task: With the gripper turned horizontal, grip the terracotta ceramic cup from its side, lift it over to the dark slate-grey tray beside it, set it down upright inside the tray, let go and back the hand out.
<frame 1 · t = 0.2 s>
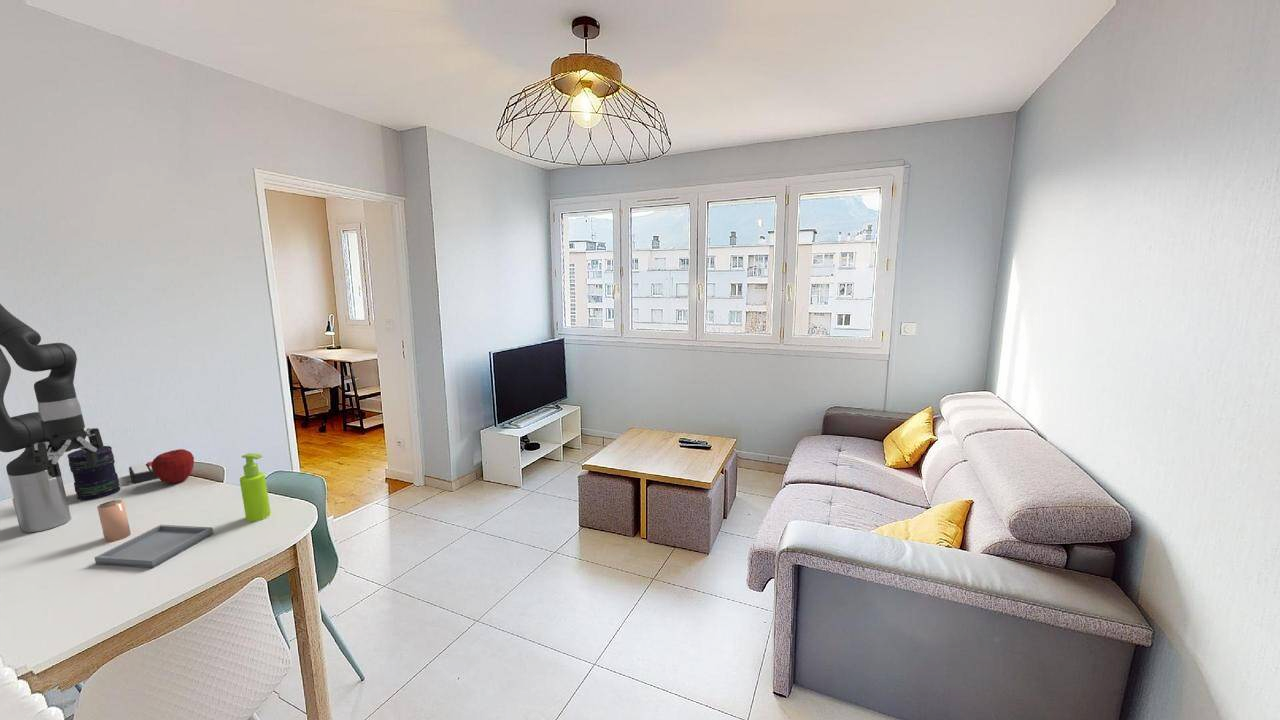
hand: (74, 470, 138), 17 cm above the table, tool pointing down, fingers open, 8 cm apart
cup: (118, 537, 136), on the table
soap dispenser: (260, 517, 147), on the table
storage jar: (99, 494, 162), on the table
tray: (158, 548, 131), on the table
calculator: (161, 474, 178), on the table
apple: (177, 481, 171), on the table
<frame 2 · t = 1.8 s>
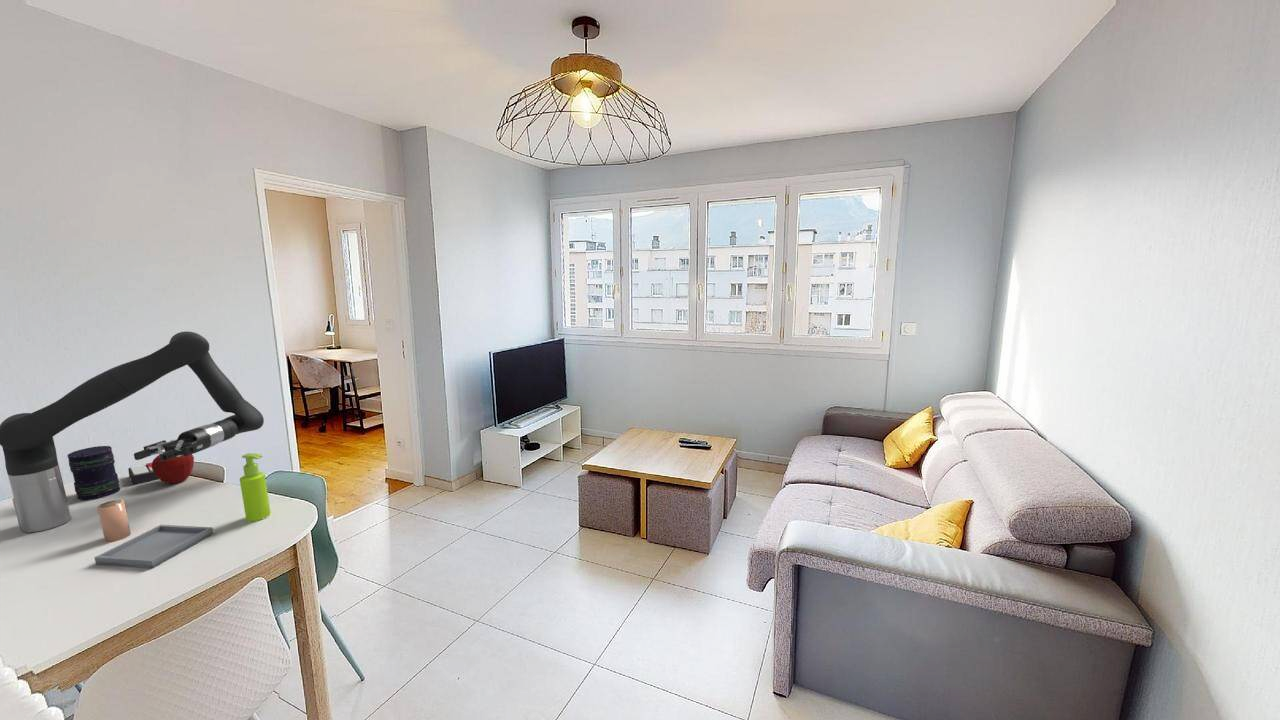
hand: (148, 457, 143), 19 cm above the table, tool horizontal, fingers open, 8 cm apart
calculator: (161, 475, 177), on the table
everything else where it was.
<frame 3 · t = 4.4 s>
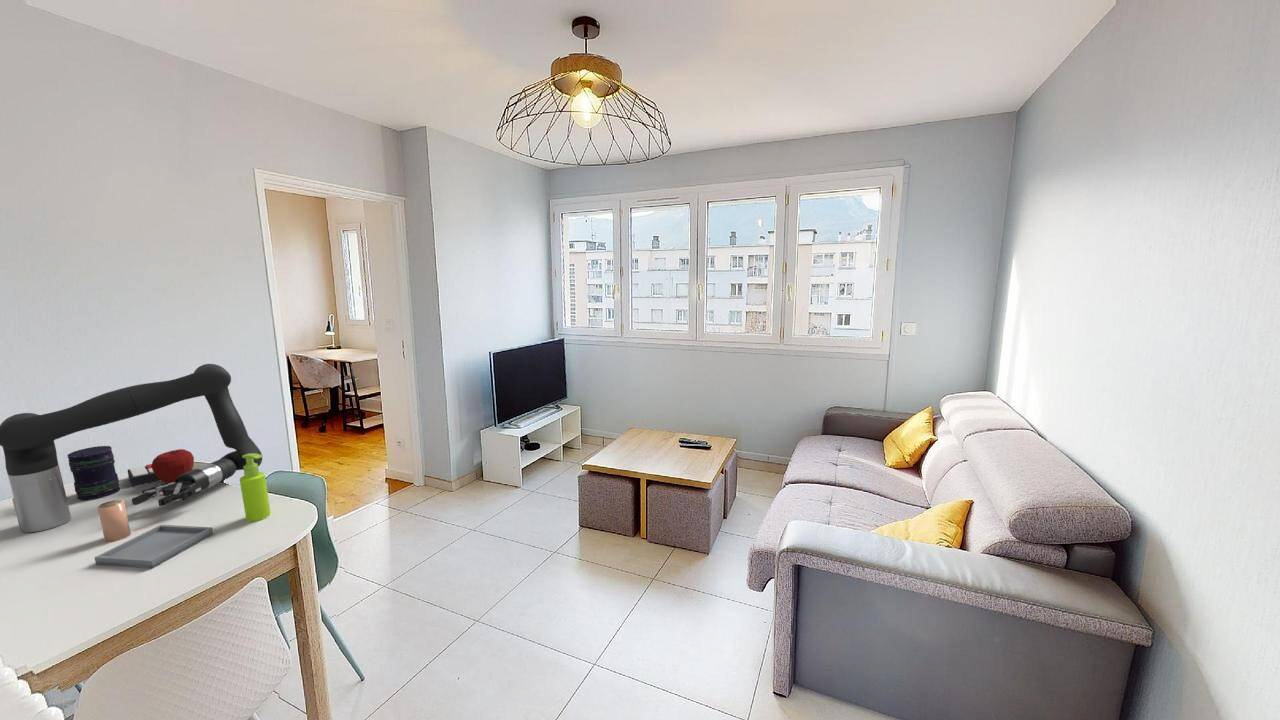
hand: (146, 502, 143), 6 cm above the table, tool horizontal, fingers open, 8 cm apart
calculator: (160, 477, 176), on the table
everything else where it was.
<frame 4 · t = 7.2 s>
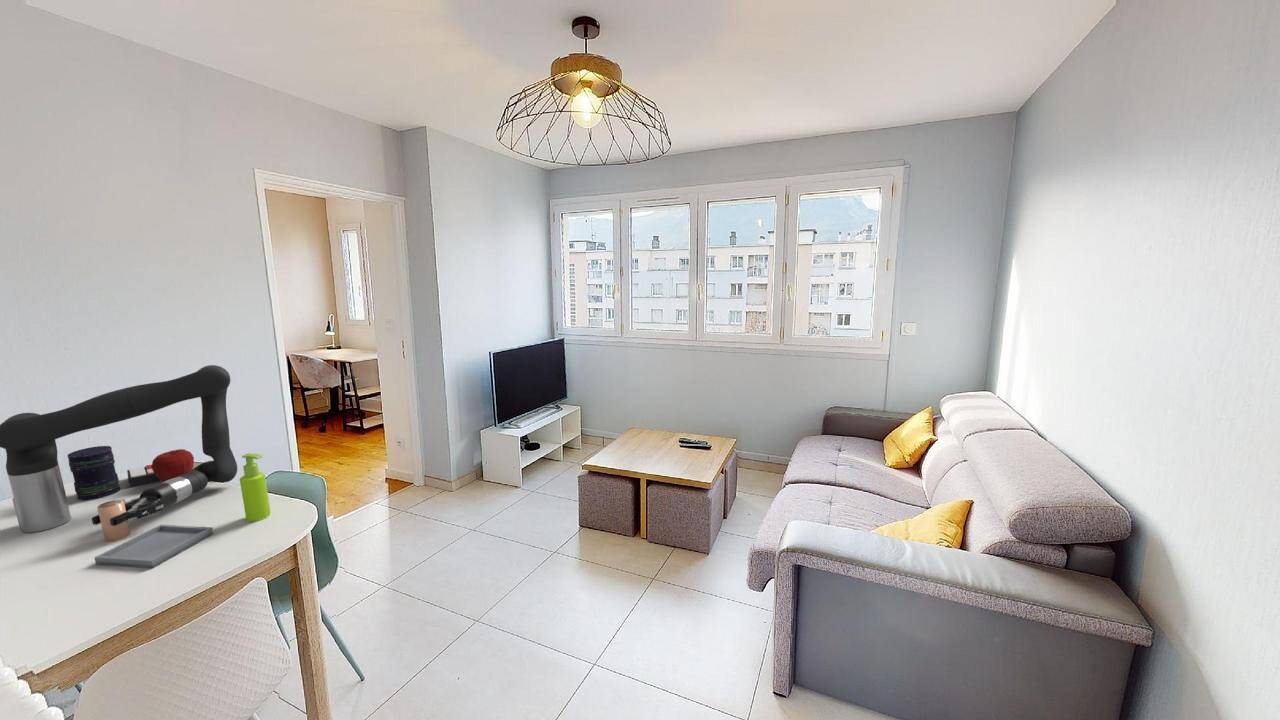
hand: (102, 522, 132), 6 cm above the table, tool horizontal, fingers closed on cup, 5 cm apart
cup: (118, 537, 136), on the table, touching gripper
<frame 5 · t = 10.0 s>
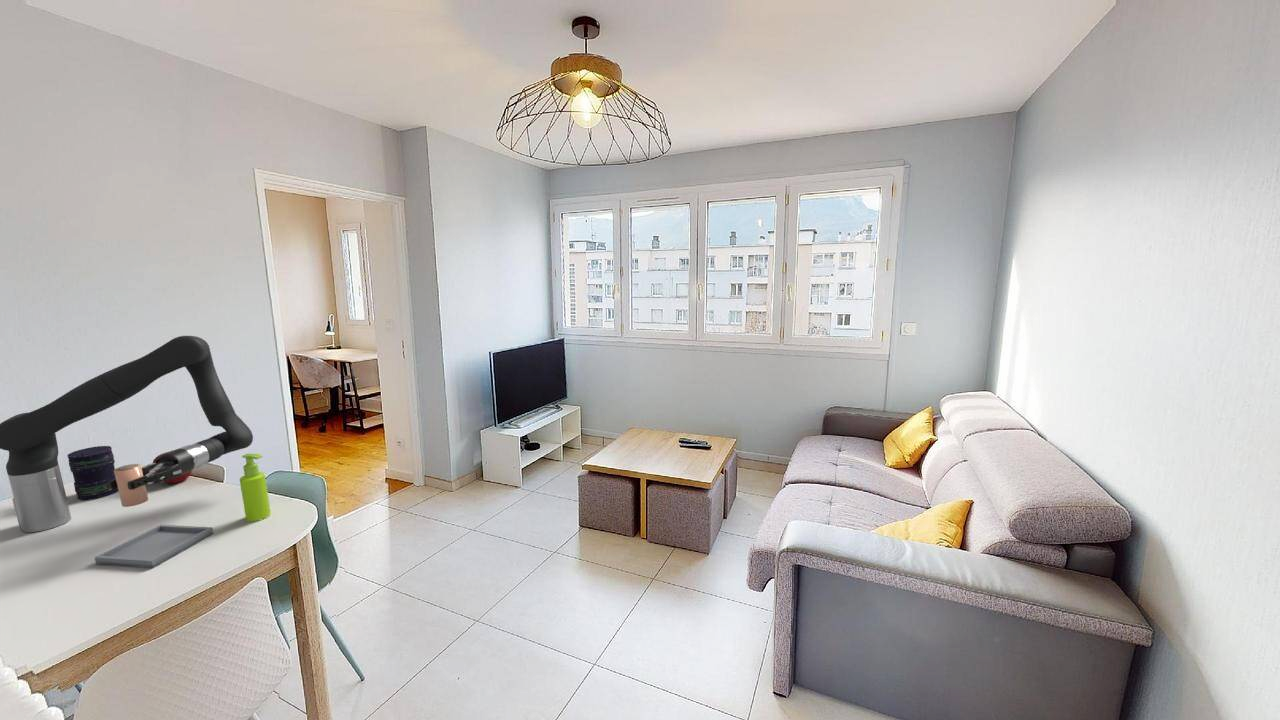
hand: (119, 485, 128), 18 cm above the table, tool horizontal, fingers closed on cup, 5 cm apart
cup: (135, 502, 131), point 12 cm above the table, touching gripper
when the fingers open (9 cm above the table, at t = 12.6 s): cup drops 2 cm, resting on tray.
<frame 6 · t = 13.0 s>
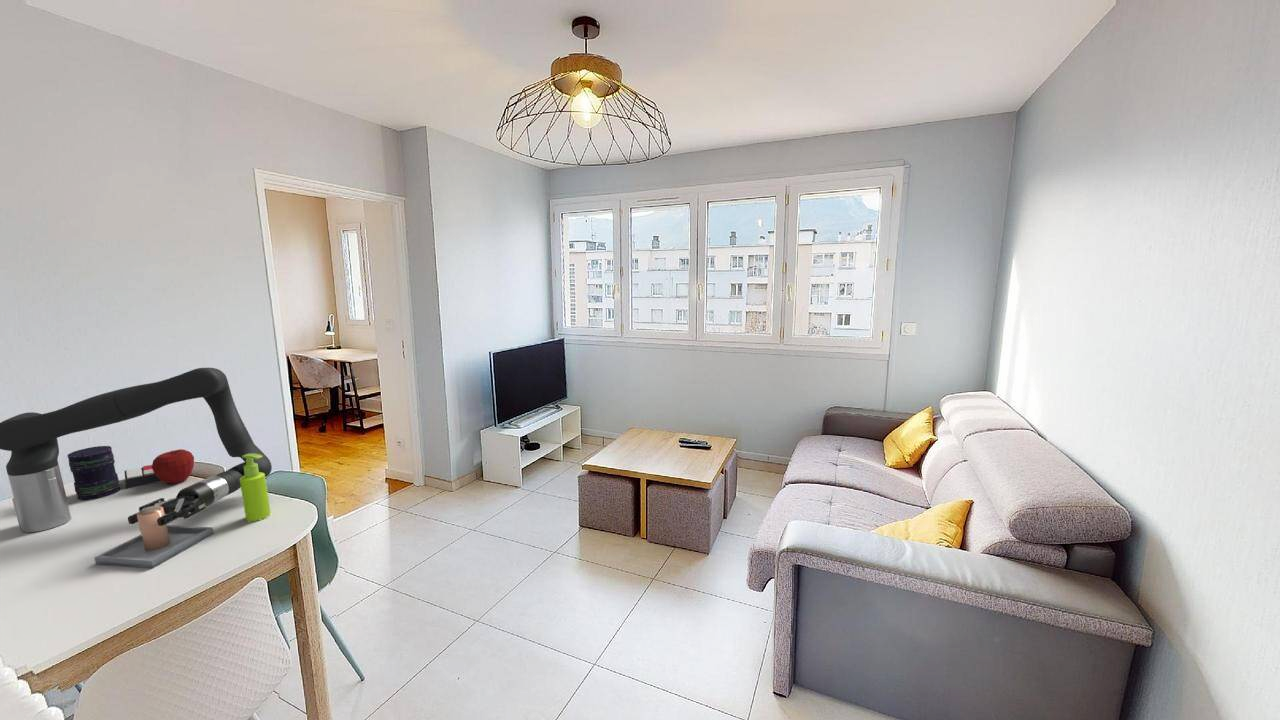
hand: (144, 521, 127), 9 cm above the table, tool horizontal, fingers open, 8 cm apart
cup: (157, 545, 131), point 1 cm above the table, touching tray
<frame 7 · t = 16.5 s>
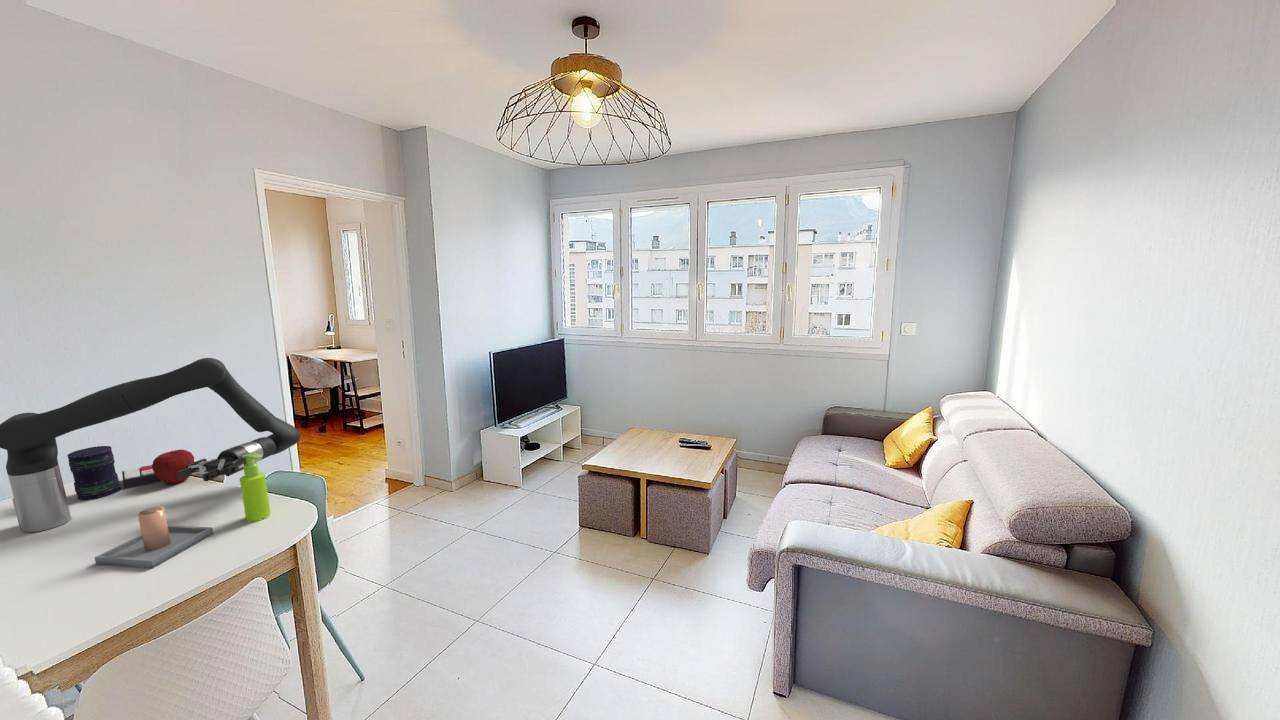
hand: (190, 477, 141), 15 cm above the table, tool horizontal, fingers open, 8 cm apart
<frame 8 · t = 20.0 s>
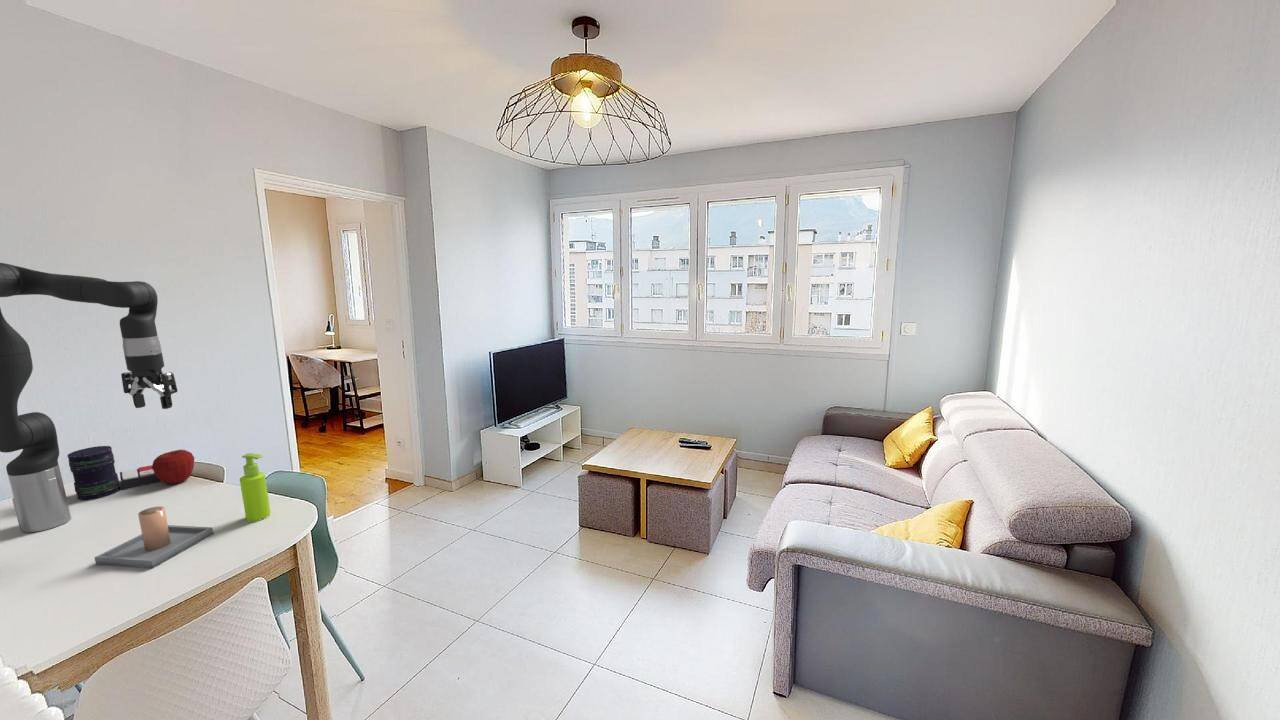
hand: (154, 407, 141), 34 cm above the table, tool pointing down, fingers open, 8 cm apart
at the end: cup inside the target area on the tray (0.1 cm from its centre), point 0.9 cm above the tray's base; cup tilted 1°; the gripper is holding nothing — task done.
